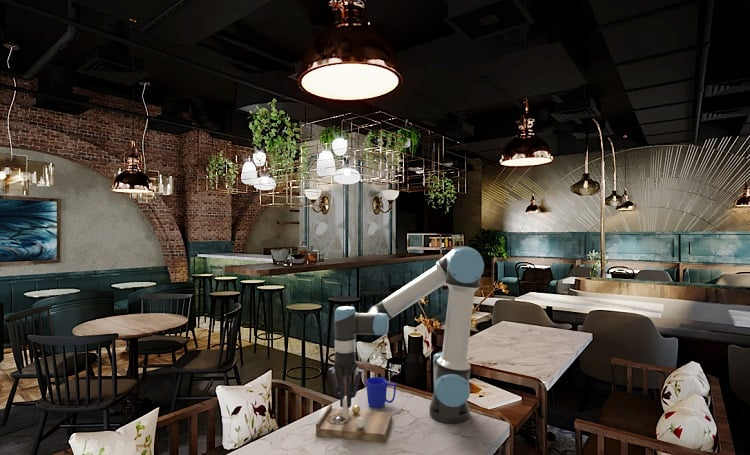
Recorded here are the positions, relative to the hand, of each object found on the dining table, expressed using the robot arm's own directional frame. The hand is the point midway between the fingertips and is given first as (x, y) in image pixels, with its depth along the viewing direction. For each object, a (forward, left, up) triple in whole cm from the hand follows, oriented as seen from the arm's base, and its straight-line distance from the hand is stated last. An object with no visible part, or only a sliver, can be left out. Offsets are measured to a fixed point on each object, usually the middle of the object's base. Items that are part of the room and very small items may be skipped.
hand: (345, 415), depth 144 cm
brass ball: (-3, -5, 0) cm, 6 cm away
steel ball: (+3, 0, -2) cm, 4 cm away
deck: (-4, 0, -4) cm, 5 cm away
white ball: (-7, +5, 0) cm, 8 cm away
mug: (-10, -19, -4) cm, 22 cm away
